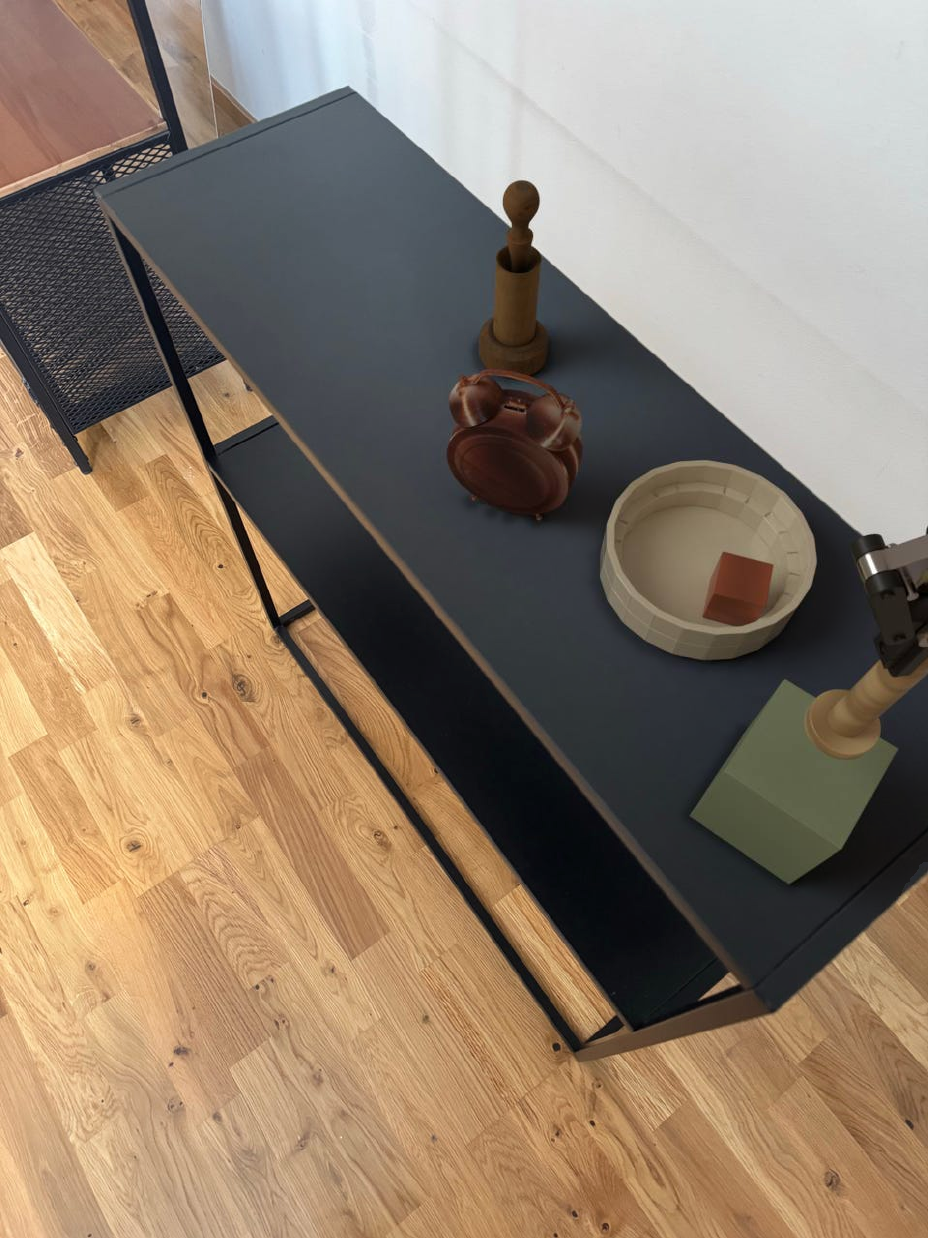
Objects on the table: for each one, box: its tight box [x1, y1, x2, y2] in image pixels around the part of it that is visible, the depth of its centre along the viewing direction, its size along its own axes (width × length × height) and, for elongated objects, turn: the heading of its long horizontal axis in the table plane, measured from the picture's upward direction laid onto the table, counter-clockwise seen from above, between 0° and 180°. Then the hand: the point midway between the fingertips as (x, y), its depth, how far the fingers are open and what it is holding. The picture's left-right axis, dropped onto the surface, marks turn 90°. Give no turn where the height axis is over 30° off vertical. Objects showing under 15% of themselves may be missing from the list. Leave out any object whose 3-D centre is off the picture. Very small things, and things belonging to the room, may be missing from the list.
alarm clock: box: [446, 368, 584, 521], centre depth 71 cm, size 11×5×15 cm, turn 69°
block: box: [702, 552, 774, 627], centre depth 70 cm, size 4×4×4 cm
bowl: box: [599, 459, 818, 661], centre depth 71 cm, size 16×16×5 cm
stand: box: [689, 678, 899, 885], centre depth 60 cm, size 8×8×10 cm
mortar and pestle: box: [478, 179, 549, 376], centre depth 78 cm, size 7×6×18 cm
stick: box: [805, 658, 928, 760], centre depth 45 cm, size 4×4×15 cm
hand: (918, 655), depth 42 cm, fingers closed on stick, 2 cm apart
